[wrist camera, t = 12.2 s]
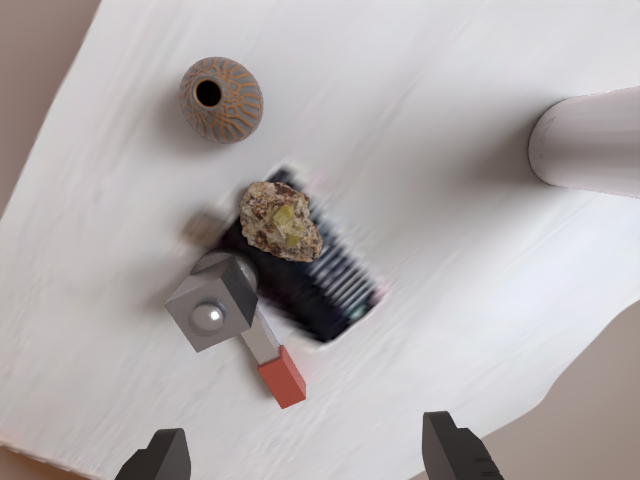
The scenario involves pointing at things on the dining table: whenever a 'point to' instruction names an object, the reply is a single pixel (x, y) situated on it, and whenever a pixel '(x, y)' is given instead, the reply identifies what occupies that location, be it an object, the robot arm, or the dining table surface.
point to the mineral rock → (279, 222)
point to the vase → (221, 100)
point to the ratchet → (263, 337)
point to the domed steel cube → (213, 304)
